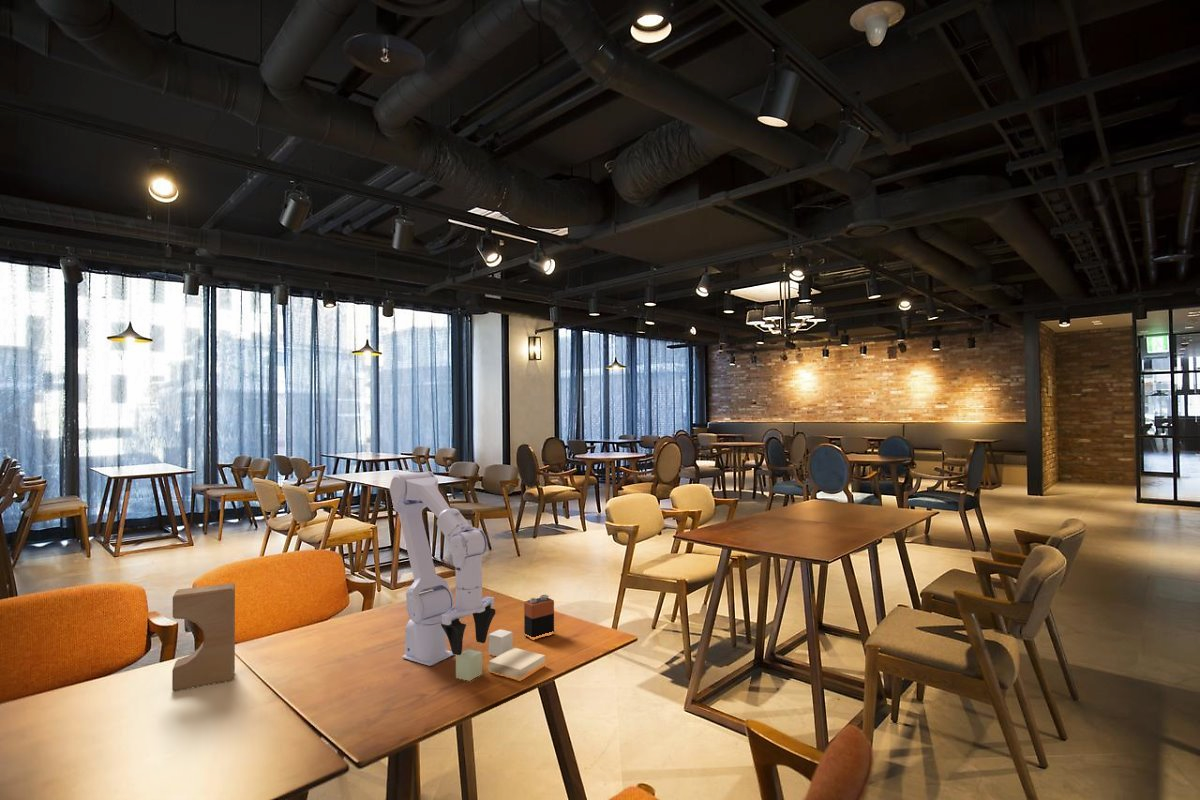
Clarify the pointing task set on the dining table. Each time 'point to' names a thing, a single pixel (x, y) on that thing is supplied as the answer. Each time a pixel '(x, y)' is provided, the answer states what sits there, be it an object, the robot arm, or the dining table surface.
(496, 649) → the grey block
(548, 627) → the battery
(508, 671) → the birch base block
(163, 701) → the dining table surface
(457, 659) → the sage block
